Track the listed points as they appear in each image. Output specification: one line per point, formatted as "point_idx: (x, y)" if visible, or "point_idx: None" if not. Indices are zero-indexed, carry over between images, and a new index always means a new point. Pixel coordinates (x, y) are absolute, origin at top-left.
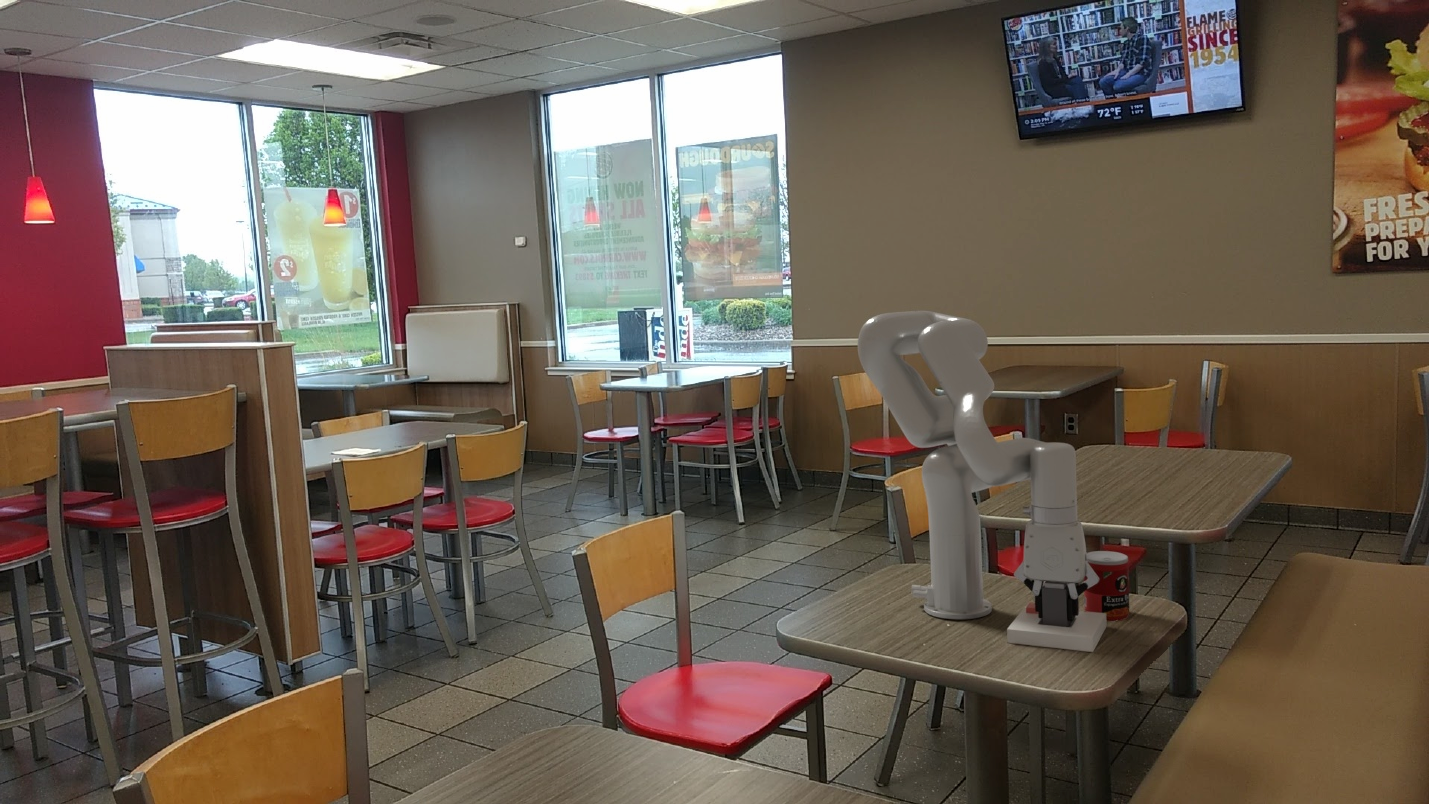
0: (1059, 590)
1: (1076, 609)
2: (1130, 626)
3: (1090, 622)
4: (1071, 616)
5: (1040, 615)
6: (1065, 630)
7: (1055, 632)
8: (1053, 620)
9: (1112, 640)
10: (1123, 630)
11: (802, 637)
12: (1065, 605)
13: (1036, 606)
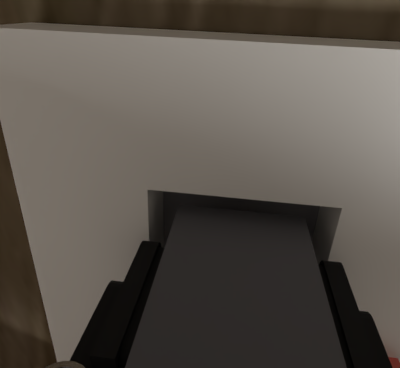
0: None
1: (100, 305)
2: (19, 340)
3: (80, 276)
4: (137, 255)
5: (331, 269)
6: (165, 133)
7: (218, 76)
8: (248, 238)
9: (16, 206)
10: (23, 307)
11: None
12: (151, 307)
13: (369, 335)
